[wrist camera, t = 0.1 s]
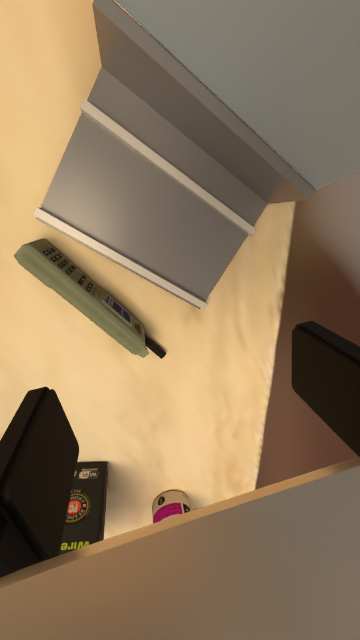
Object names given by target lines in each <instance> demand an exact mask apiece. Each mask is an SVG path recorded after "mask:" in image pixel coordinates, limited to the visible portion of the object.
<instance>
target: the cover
mask: <svg viewBox="0 0 360 640" xmlns="http://www.w3.org/2000/svg"><path fill="white" fill-rule="evenodd" d="M115 1H116V2H118V3H119V4H120V5H121V6H122V7H123V8H124V9H125V10H126V11H127V12H128V13H129V14H130V15H131V16H132V17H133V18H135V19H136V20H137V21H138V22H139V23H140V24H141V25H142V26H143V27H144V28H145V29H146V30H147V31H148V32H149V33H151V34H152V35H153V36H154V37H155V38H156V39H157V40H158V41H159V42H160V43H161V44H162V45H163V46H164V47H165V48H166V49H168V50H169V51H170V52H171V53H172V54H173V55H174V56H175V57H176V58H177V59H178V60H179V61H180V62H181V63H182V64H183V65H185V66H186V67H187V68H188V69H189V70H190V71H191V72H192V73H193V74H194V75H195V76H196V77H197V78H198V79H199V80H201V81H202V82H203V83H204V84H205V85H206V86H207V87H208V88H209V89H210V90H211V91H212V92H213V93H214V94H215V95H216V96H218V97H219V98H220V99H221V100H222V101H223V102H224V103H225V104H226V105H227V106H228V107H229V108H230V109H231V110H232V111H233V112H235V113H236V114H237V115H238V116H239V117H240V118H241V119H242V120H243V121H244V122H245V123H246V124H247V125H248V126H249V127H251V128H252V129H253V130H254V131H255V132H256V133H257V134H258V135H259V136H260V137H261V138H262V139H263V140H264V141H265V142H266V143H268V144H269V145H270V146H271V147H272V148H273V149H274V150H275V151H276V152H277V153H278V154H279V155H280V156H281V157H282V158H283V159H285V160H286V161H287V162H288V163H289V164H290V165H291V166H292V167H293V168H294V169H295V170H296V171H297V172H298V173H299V174H301V175H302V176H303V177H304V178H305V179H306V180H307V181H308V182H309V183H310V184H311V185H312V186H313V187H314V188H315V189H317V190H318V189H320V188H323V187H325V186H327V185H330V184H332V183H335V182H337V181H340V180H342V179H345V178H347V177H350V176H352V175H354V174H357V173H359V172H360V0H115Z"/></svg>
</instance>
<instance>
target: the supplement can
mask: <svg viewBox="0 0 360 640" xmlns="http://www.w3.org/2000/svg"><path fill="white" fill-rule="evenodd" d="M187 512H190V508H189V504H188V499H187V497H186V496H185V494H183V493H181V492H179V491H167V492H165V493H162V494H161V495H160V496H158V497H157V499H156V500H155V501H154V503H153V506H152V513H153V524H154V523H157V522H160V521H163V520H166V519H169V518H172V517H175V516H178V515H181V514H184V513H187Z"/></svg>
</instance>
